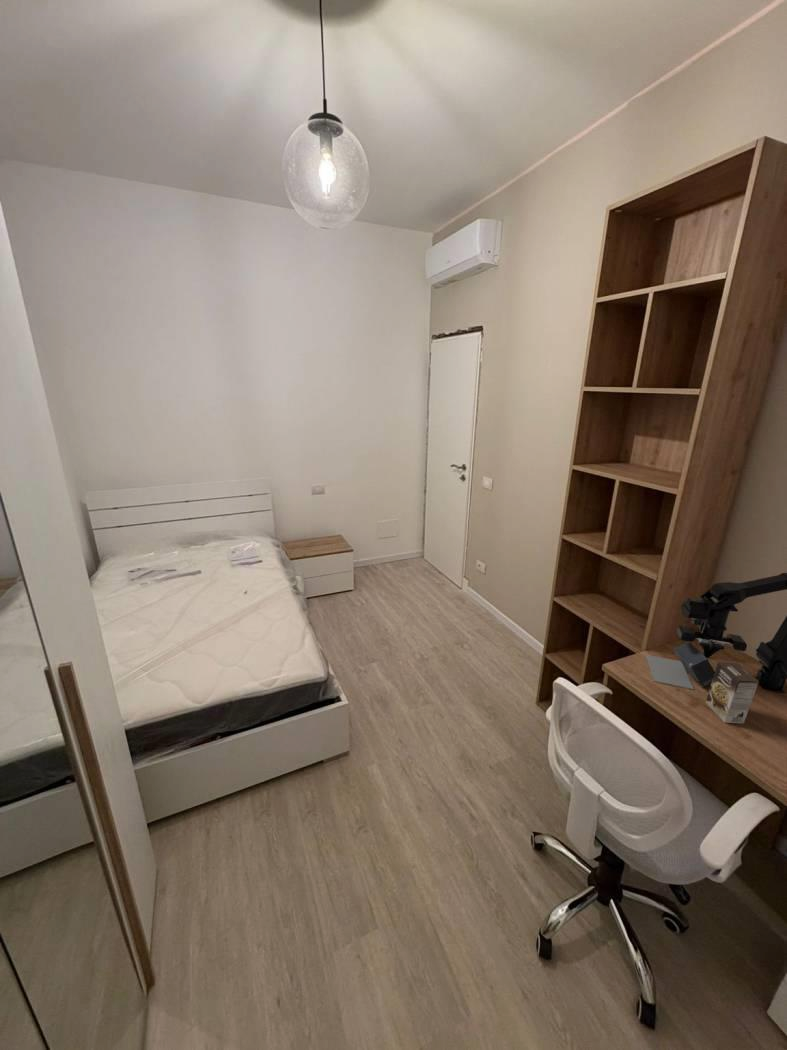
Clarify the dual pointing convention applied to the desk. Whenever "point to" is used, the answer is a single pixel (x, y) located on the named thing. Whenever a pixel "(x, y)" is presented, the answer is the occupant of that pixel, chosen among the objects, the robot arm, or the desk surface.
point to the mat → (669, 672)
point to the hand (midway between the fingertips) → (704, 658)
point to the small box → (695, 663)
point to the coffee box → (731, 692)
